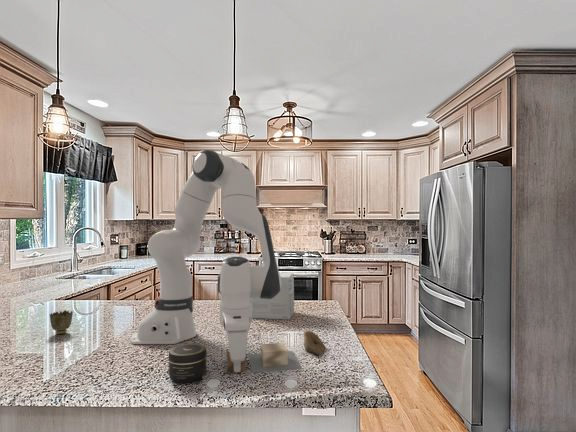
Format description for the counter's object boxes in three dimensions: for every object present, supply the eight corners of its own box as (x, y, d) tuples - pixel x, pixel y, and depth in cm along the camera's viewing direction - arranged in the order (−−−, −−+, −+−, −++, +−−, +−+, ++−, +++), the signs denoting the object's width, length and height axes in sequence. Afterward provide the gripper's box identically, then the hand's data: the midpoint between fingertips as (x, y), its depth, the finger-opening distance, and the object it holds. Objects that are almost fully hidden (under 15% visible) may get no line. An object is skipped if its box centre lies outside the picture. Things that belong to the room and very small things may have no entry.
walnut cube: (227, 376, 101) (227, 358, 101) (227, 369, 105) (227, 351, 106) (246, 375, 101) (245, 356, 102) (244, 368, 106) (244, 350, 106)
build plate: (252, 376, 100) (252, 372, 100) (248, 357, 114) (248, 354, 114) (302, 372, 103) (302, 368, 103) (292, 354, 117) (292, 351, 117)
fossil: (306, 341, 112) (305, 324, 121) (296, 351, 112) (296, 334, 122) (328, 359, 113) (326, 341, 122) (318, 368, 113) (317, 350, 123)
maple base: (263, 366, 104) (263, 352, 104) (260, 357, 111) (260, 344, 111) (288, 364, 106) (287, 350, 106) (283, 355, 113) (283, 342, 113)
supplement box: (294, 312, 170) (294, 272, 170) (289, 320, 157) (289, 277, 157) (258, 311, 173) (257, 272, 173) (250, 318, 160) (250, 276, 160)
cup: (77, 332, 142) (77, 311, 142) (58, 337, 135) (58, 315, 135) (64, 330, 145) (64, 309, 145) (45, 335, 138) (45, 313, 138)
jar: (204, 384, 95) (203, 355, 96) (164, 386, 95) (164, 356, 95) (209, 369, 105) (209, 342, 106) (173, 370, 105) (173, 343, 105)
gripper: (224, 308, 113) (224, 353, 113) (225, 326, 93) (225, 382, 93) (244, 307, 114) (245, 352, 114) (250, 325, 94) (250, 380, 94)
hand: (236, 366), depth 103 cm, fingers open, 6 cm apart
